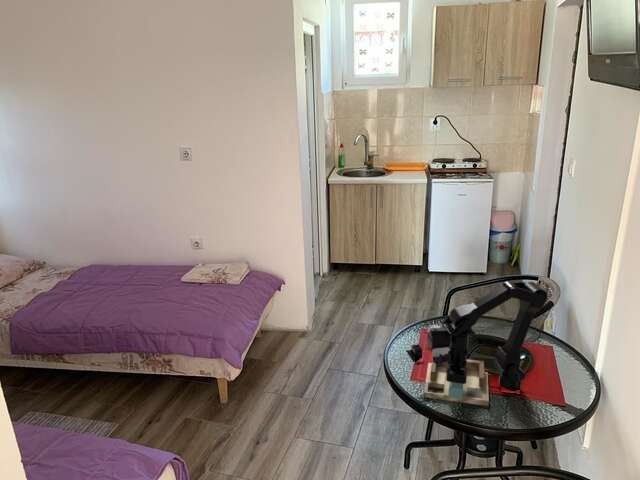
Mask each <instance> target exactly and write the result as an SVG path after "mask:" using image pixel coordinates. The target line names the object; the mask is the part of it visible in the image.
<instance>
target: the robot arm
mask: <svg viewBox="0 0 640 480" xmlns="http://www.w3.org/2000/svg"><path fill="white" fill-rule="evenodd" d="M548 297H549V295H548V293H547V291H545V290H544V289H543V288H542V287H541V286H540V285H538V284H537V283H536V282H534V281H528V282H524V281H523V282H522V281H514V282H513V281H505V282H503V284H502V285H500V286H498V287H497V288H494V290H492V291H490V292H489V293H487V294H486V295H484V296H482V297H480V298H478V299H477V300H475V301H474V302H472V303H469V304H462V305H458V306H457V307H455V308H453V309H452V310H450V312H449V315H448V316H447V318H446V319H445V320H444V321H443V323H442V325H441V326H444V327H443V328H430V327H429V328H430V331H429V332H428V334H427V333H426V342H427V346H428V349H429V350H432V351H431V357H432V358H433V362H434V363H435V364H437V365H438V364H443V363H444V362H447V361H448V365H449V367H448V369H447V378H446V380H447V381H448V382H455V383H461V384H465V383H466V378H467V372H466V365H467V358H468V350H469V349H468V347H469V336H472V335H476V331H474V329H473V326H475V325H476V324H477V323H478V321H479V319H480V318H482V316H484V315H486V314H487V313H489V312H490V311H492V310H494V309H496V308H497V307H499V306H501V305H503V304H504V303H506V302H507V301H509V300H510V299H511V300H512V299H517V300H519V310H518V312H517V315H516V318H515V320H514V322H513V325H512V328H511V330H510V332H509V335H508V338H507V340H506V343H505V344H504V345H503V346H499V345H498V346H497V348H496V351H495V353H494V355H493V356H494V361H495V362H496V364H497V366H498V367H499V368H500V370H501V372H500V373H499V378H498V387H499V386H501V387H504V388H506V389H508V390H511V391H516V390H521V386H522V381H524V380H525V378H526V377H527V374H526V373H525V371H524V370H523V369H522V368H521V364H522V356H521V355H522V354H521V350H522V347H523V345H524V342H525V339H526V337H527V335H528V332H529V331H530V328H531V325H532V322H533V320H534V317H535V314H536V313H538V312H539V311H541V310H543V307H544V306H545V304H546V302H547V301H548ZM452 325H453V326H452ZM432 358H431V359H432Z"/></svg>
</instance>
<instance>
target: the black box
mask: <svg viewBox="0 0 640 480" xmlns="http://www.w3.org/2000/svg"><path fill="white" fill-rule="evenodd" d="M406 354H407V355H408V356H409V358H410V359H411V361H412V362H413V364H417V363H416V362H417V361H418V360H419V359H420V358H422V354H423V349H422V347H421V345H420V344H419V343H418V344H411V348H410V349H407V350H406Z"/></svg>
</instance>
